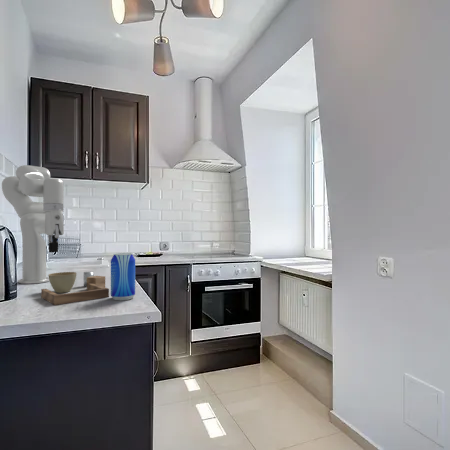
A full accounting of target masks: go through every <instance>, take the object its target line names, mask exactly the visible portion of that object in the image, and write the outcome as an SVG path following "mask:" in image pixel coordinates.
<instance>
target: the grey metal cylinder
mask: <svg viewBox="0 0 450 450" xmlns="http://www.w3.org/2000/svg"><path fill="white" fill-rule="evenodd" d="M94 274H95V272H94V271H84V272H83V288H87V277H92V276H95V275H94Z"/></svg>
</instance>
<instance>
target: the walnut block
mask: <svg viewBox="0 0 450 450" xmlns="http://www.w3.org/2000/svg"><path fill="white" fill-rule="evenodd" d="M90 283H93V284H96V285H99V286H102V287H105V288H106V276H103V275H94V276H92V277H87V287H86V290H88V284H90Z"/></svg>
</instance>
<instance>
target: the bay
mask: <svg viewBox="0 0 450 450" xmlns="http://www.w3.org/2000/svg"><path fill="white" fill-rule="evenodd" d="M40 292H41V295H40V296H41V299H43V300H45V301H46V302H48V303H50V304H52V305H54V306H59V305H65V304H71V303H77V302H78V303H79V302H84V301H90V300H96V299H97V300H98V299H103V298H109V297H110V289H109V288H108V287H106V286H105V287H102V286H99V285H96V284H93V283H90V284H88V289H87V290H82V291H75V292H66V293H56V292H55V291H52V290H49V289H47V288H41V291H40Z"/></svg>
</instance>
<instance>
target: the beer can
mask: <svg viewBox="0 0 450 450" xmlns="http://www.w3.org/2000/svg"><path fill="white" fill-rule="evenodd" d="M135 295H136V258H135V257H134V254H133V253H132V252H116V253H113V256H112V257H111V258H110V296H111V298H112V299H113V300H114V301H128V300H132V299H133V298H134V296H135Z"/></svg>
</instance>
